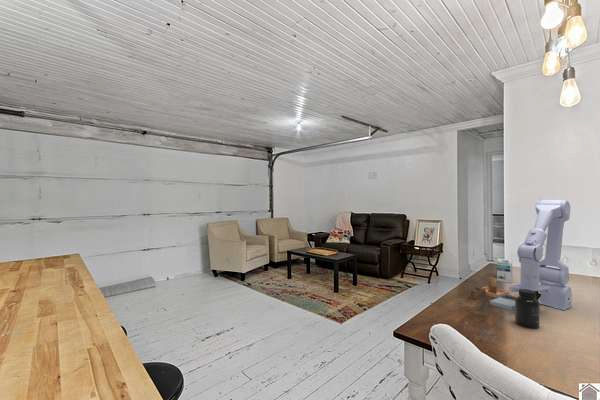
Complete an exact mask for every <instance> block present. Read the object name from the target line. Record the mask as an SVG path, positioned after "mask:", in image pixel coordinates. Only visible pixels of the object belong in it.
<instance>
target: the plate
mask: <svg viewBox="0 0 600 400" xmlns="http://www.w3.org/2000/svg"><path fill="white" fill-rule="evenodd" d="M508 299H509V298H506V299H504V298H501V297H499V298H493V299H491V300H489V305H491V306H495V307H498V308H501V309H504V310H508V311H515V301H512V300H513V299H510V300H508Z"/></svg>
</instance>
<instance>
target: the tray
mask: <svg viewBox="0 0 600 400" xmlns="http://www.w3.org/2000/svg"><path fill="white" fill-rule="evenodd" d="M482 288H484V289H485V297H486V296H487V297H490V298H493V299H496V298H497V296H501V295H504V294H507V295H510V291H509V290H508V291H507V290H505V289H501V288H497V294H494V293H491V292H488V285H487V286H483V287H482Z"/></svg>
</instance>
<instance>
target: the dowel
mask: <svg viewBox="0 0 600 400" xmlns="http://www.w3.org/2000/svg"><path fill="white" fill-rule="evenodd" d="M487 278H488V280H487V281H488V285H487V286H488V292H491V293H494V294H497V289H498V288H497V286H498V285H497V283H498V281H497V277H494V276H488V277H487Z"/></svg>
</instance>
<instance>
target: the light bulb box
mask: <svg viewBox="0 0 600 400" xmlns="http://www.w3.org/2000/svg"><path fill="white" fill-rule="evenodd" d="M496 278H497V282H503V283H508V284H512V283H513V260H512V259H507V258H502V257H501V258H499V257H498V258H497V260H496Z"/></svg>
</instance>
